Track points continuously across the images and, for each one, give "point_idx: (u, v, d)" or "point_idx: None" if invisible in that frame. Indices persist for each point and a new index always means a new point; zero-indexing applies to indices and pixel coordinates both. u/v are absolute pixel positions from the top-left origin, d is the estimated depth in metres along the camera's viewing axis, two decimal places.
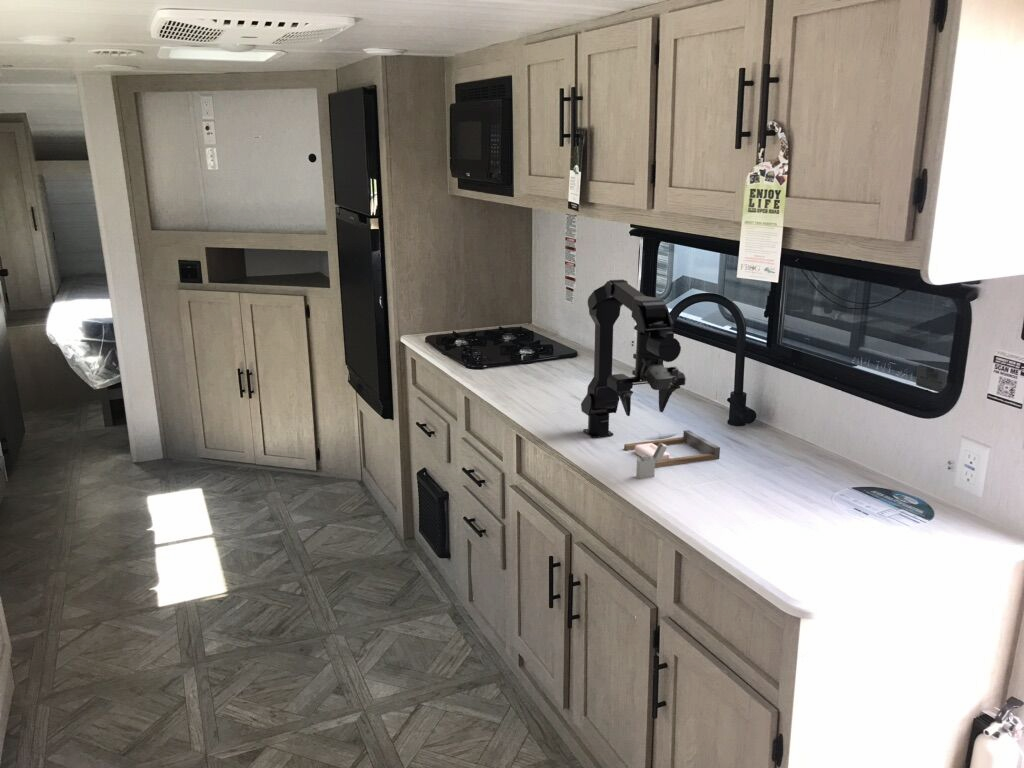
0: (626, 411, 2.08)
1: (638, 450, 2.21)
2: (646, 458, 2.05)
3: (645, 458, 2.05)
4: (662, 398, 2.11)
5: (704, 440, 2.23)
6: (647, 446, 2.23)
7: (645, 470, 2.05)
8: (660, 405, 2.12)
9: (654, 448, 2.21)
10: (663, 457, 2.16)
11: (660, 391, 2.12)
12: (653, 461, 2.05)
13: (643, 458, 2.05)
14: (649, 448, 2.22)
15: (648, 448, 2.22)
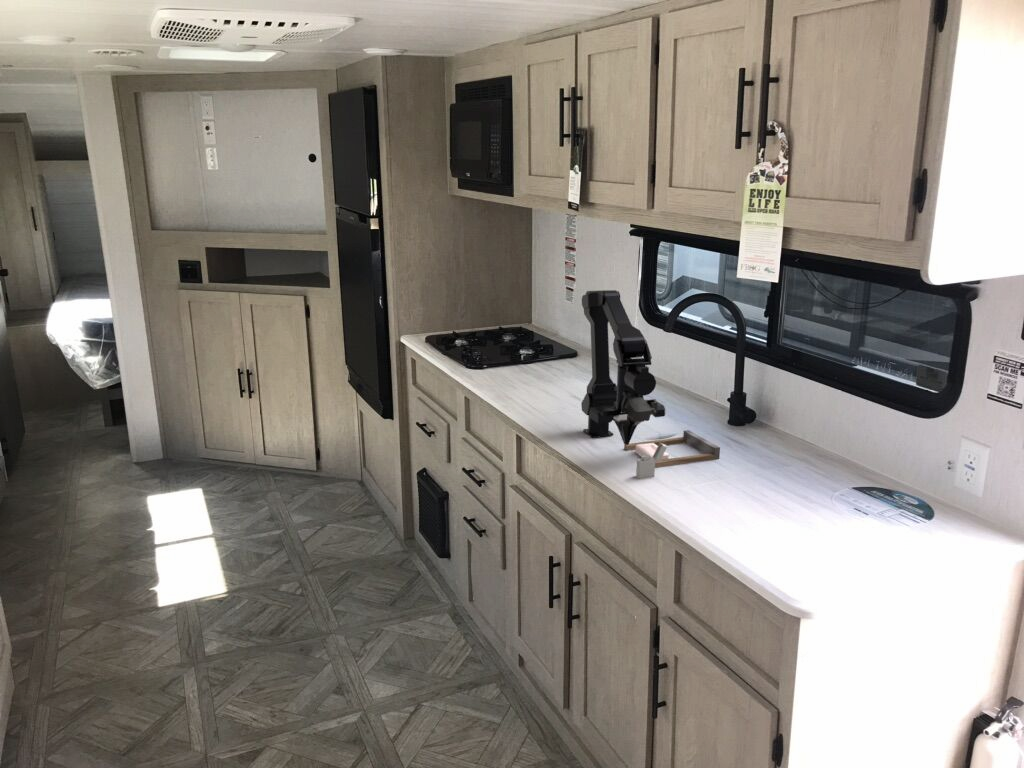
0: (624, 440, 2.16)
1: (638, 449, 2.22)
2: (646, 458, 2.05)
3: (645, 458, 2.05)
4: (627, 431, 2.16)
5: (704, 440, 2.23)
6: (648, 446, 2.23)
7: (645, 470, 2.05)
8: None
9: (654, 448, 2.21)
10: (662, 457, 2.16)
11: None
12: (653, 461, 2.05)
13: (643, 458, 2.05)
14: (650, 448, 2.22)
15: (648, 448, 2.22)
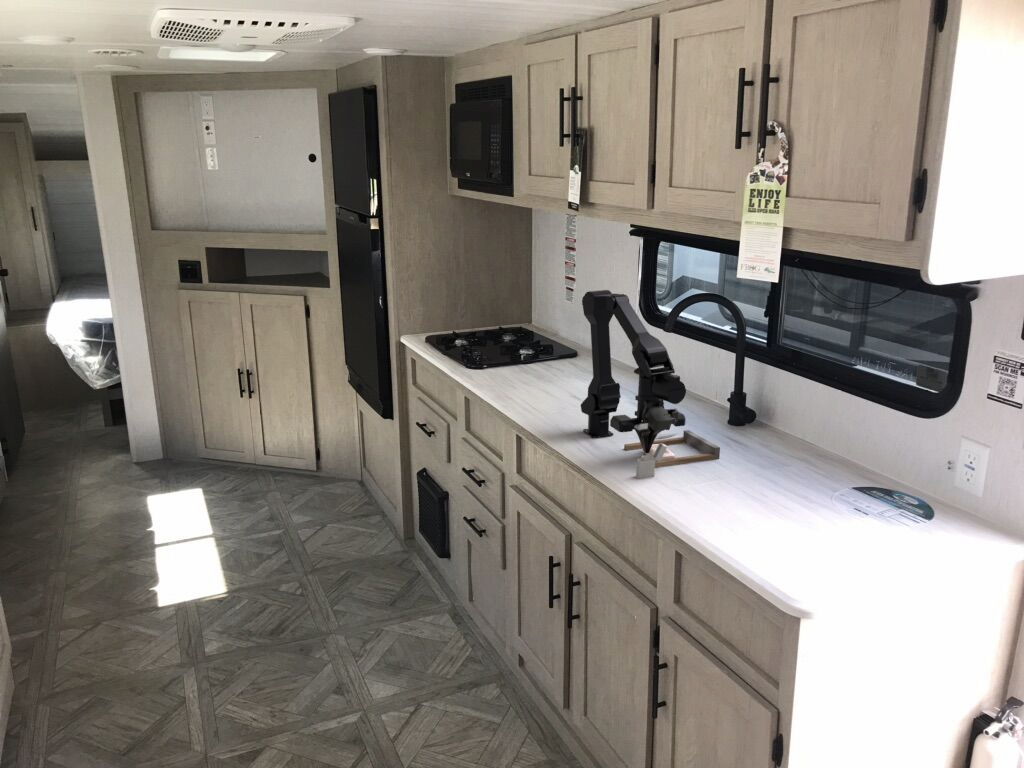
0: (644, 448, 2.19)
1: None
2: (646, 458, 2.05)
3: (645, 458, 2.05)
4: (648, 439, 2.19)
5: (704, 440, 2.23)
6: (655, 446, 2.23)
7: (645, 470, 2.05)
8: None
9: None
10: (668, 458, 2.16)
11: None
12: (653, 461, 2.05)
13: (643, 458, 2.05)
14: None
15: (655, 448, 2.22)
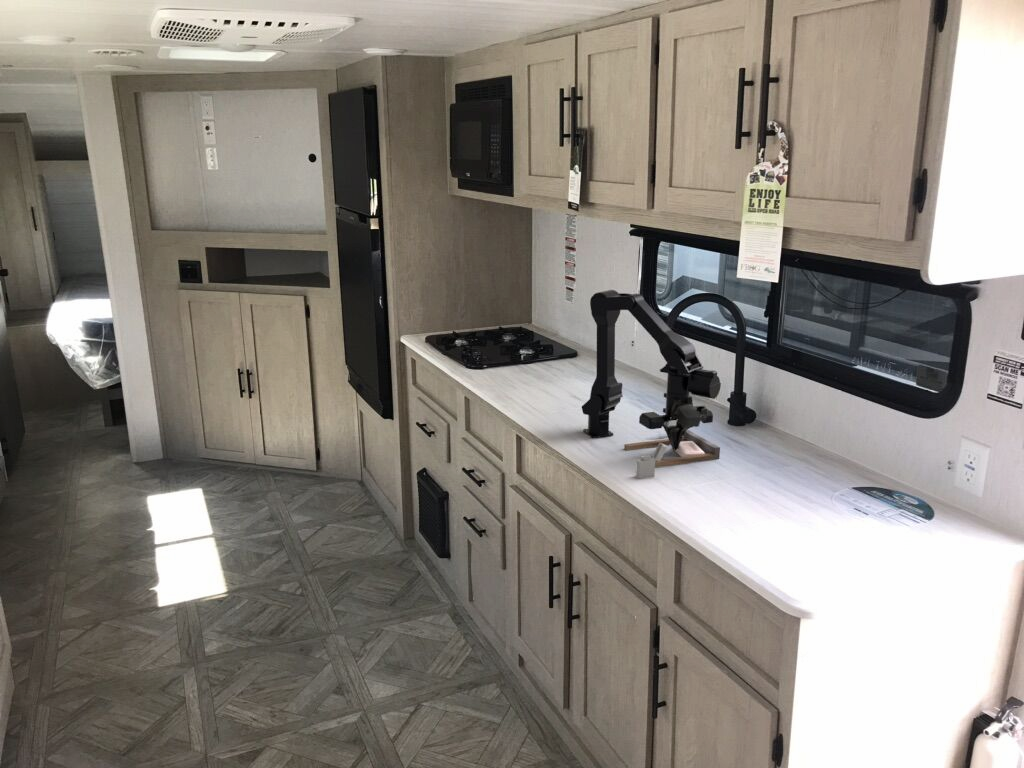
0: (672, 445, 2.22)
1: None
2: (646, 458, 2.05)
3: (645, 458, 2.05)
4: None
5: (704, 440, 2.23)
6: (686, 444, 2.25)
7: (645, 470, 2.05)
8: None
9: (692, 446, 2.23)
10: None
11: None
12: (653, 461, 2.05)
13: (643, 458, 2.05)
14: (687, 446, 2.24)
15: (686, 446, 2.24)
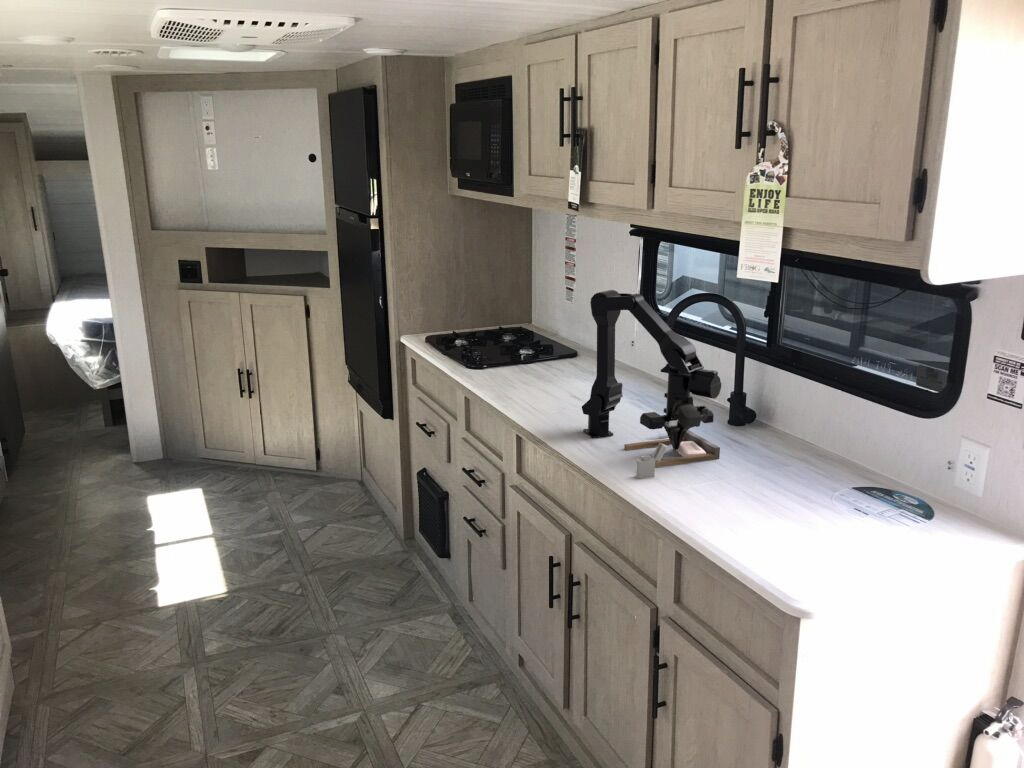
0: (673, 445, 2.22)
1: None
2: (646, 458, 2.05)
3: (645, 458, 2.05)
4: (677, 436, 2.22)
5: (704, 440, 2.23)
6: (687, 444, 2.25)
7: (645, 470, 2.05)
8: None
9: (693, 446, 2.23)
10: None
11: None
12: (653, 461, 2.05)
13: (643, 458, 2.05)
14: (688, 446, 2.24)
15: (687, 446, 2.24)
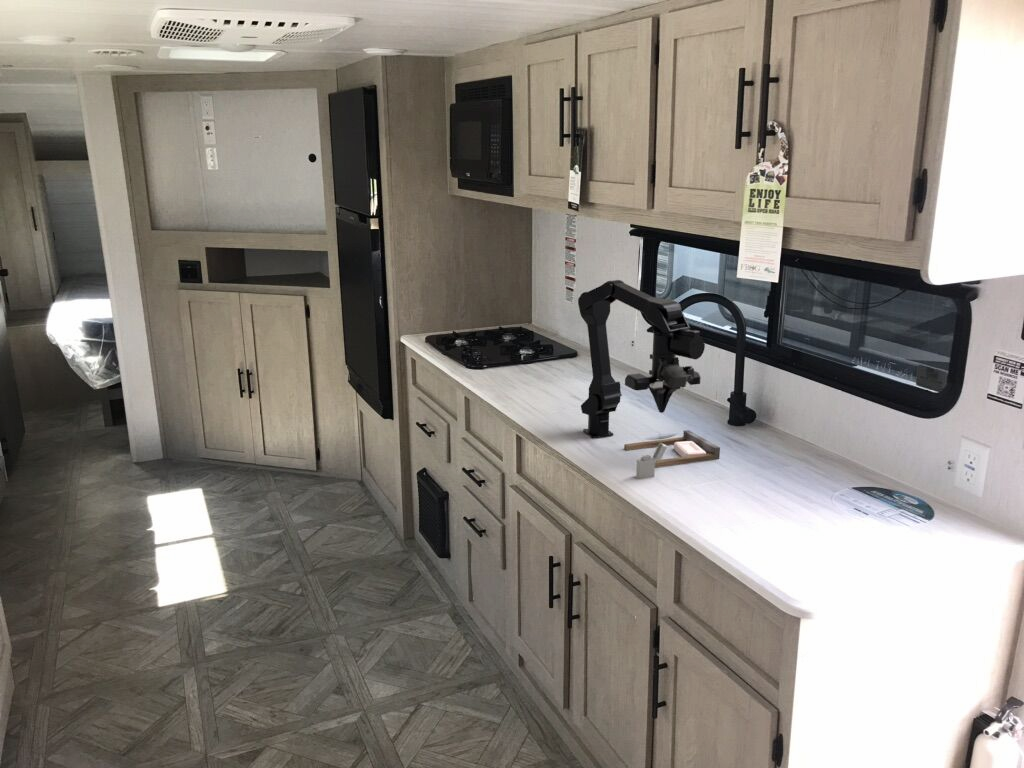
0: (659, 408, 2.17)
1: (676, 447, 2.24)
2: (646, 458, 2.05)
3: (645, 458, 2.05)
4: (663, 398, 2.17)
5: (704, 440, 2.23)
6: (686, 444, 2.25)
7: (645, 470, 2.05)
8: None
9: (692, 446, 2.23)
10: None
11: None
12: (653, 461, 2.05)
13: (643, 458, 2.05)
14: (688, 446, 2.24)
15: (687, 446, 2.24)
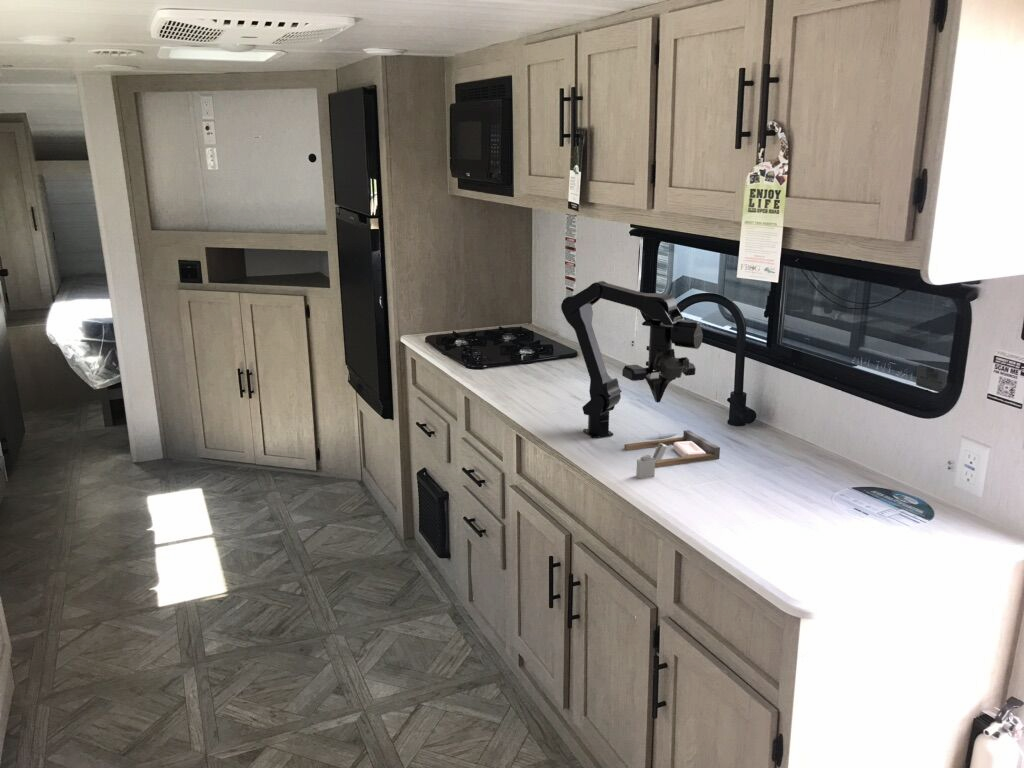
0: (655, 398, 2.25)
1: (676, 447, 2.24)
2: (646, 458, 2.05)
3: (645, 458, 2.05)
4: (659, 389, 2.24)
5: (704, 440, 2.23)
6: (686, 444, 2.25)
7: (645, 470, 2.05)
8: None
9: (692, 446, 2.23)
10: None
11: None
12: (653, 461, 2.05)
13: (643, 458, 2.05)
14: (687, 446, 2.24)
15: (686, 446, 2.24)
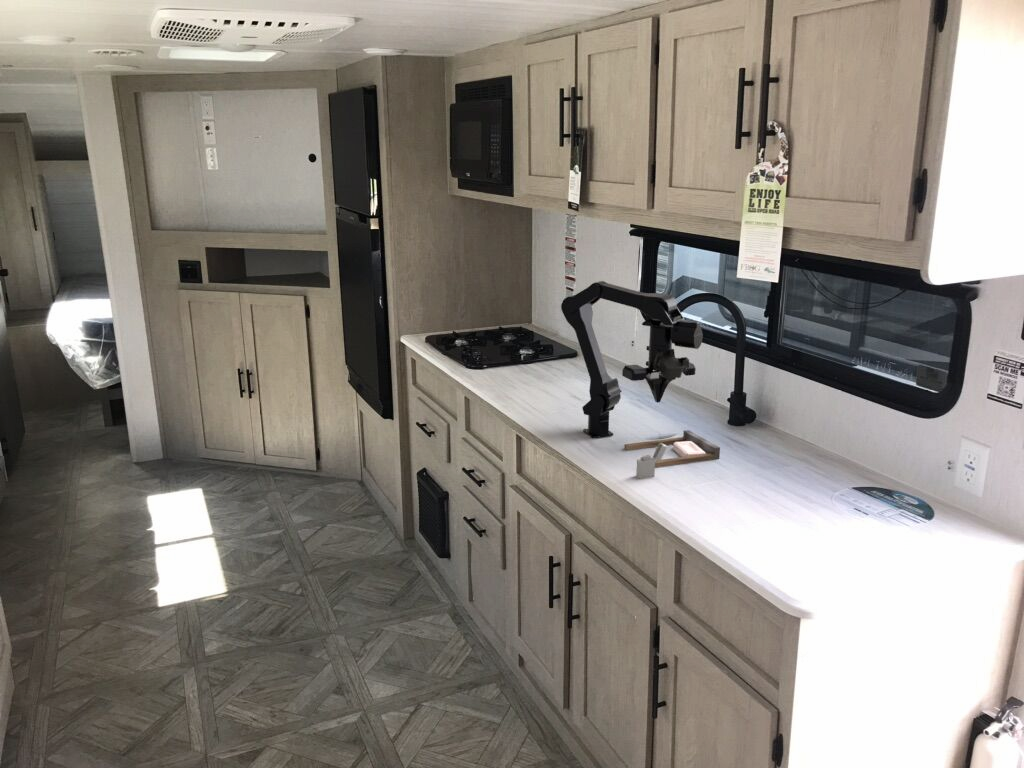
0: (655, 398, 2.25)
1: (676, 447, 2.24)
2: (646, 458, 2.05)
3: (645, 458, 2.05)
4: (659, 389, 2.24)
5: (704, 440, 2.23)
6: (686, 444, 2.25)
7: (645, 470, 2.05)
8: None
9: (692, 446, 2.23)
10: None
11: None
12: (653, 461, 2.05)
13: (643, 458, 2.05)
14: (687, 446, 2.24)
15: (686, 446, 2.24)
